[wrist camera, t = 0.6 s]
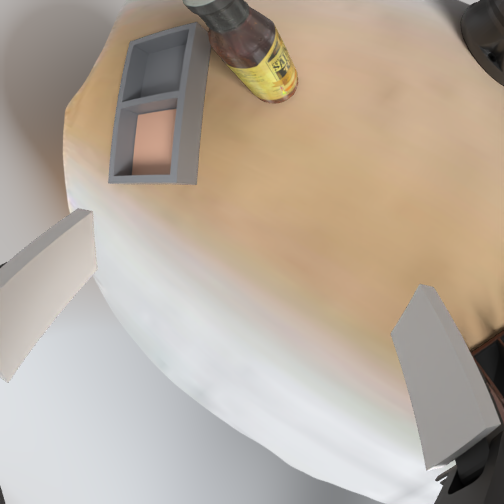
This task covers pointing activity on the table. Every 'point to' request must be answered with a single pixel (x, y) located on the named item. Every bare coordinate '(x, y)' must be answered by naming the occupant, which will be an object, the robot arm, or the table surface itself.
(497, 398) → the letter holder
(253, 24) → the sauce bottle
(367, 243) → the table surface
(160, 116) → the slot caddy
